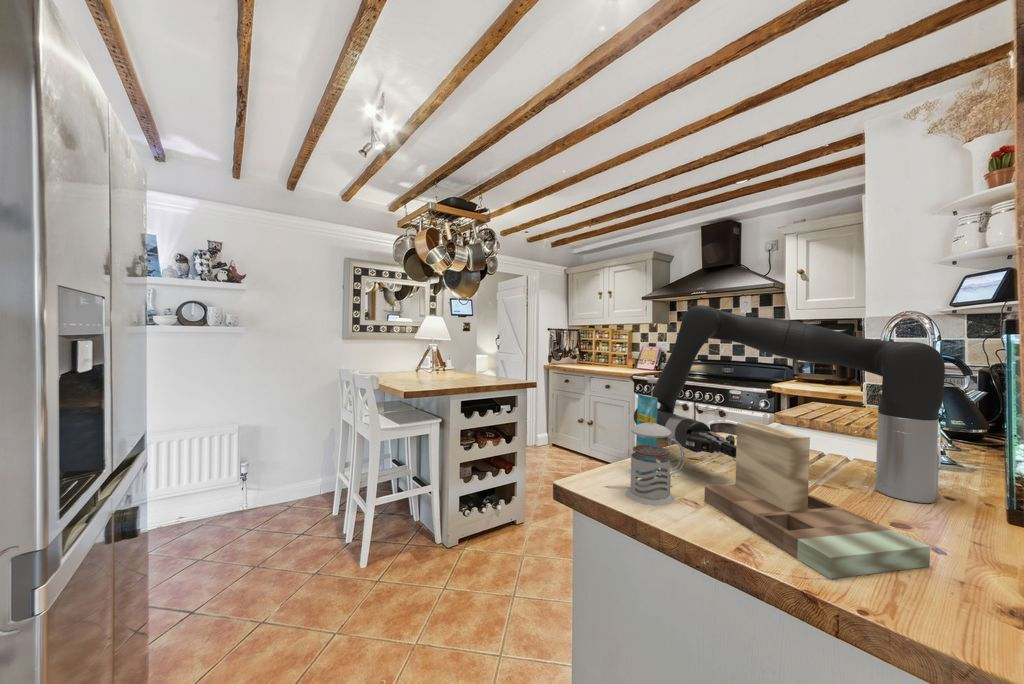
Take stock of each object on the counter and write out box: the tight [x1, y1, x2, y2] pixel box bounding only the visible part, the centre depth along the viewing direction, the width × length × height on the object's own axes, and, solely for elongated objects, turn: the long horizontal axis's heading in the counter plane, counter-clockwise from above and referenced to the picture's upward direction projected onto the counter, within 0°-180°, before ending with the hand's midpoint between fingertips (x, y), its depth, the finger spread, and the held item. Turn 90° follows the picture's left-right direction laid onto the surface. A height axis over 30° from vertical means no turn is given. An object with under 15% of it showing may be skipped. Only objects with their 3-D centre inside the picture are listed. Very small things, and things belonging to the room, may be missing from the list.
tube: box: [635, 393, 658, 478], centre depth 95 cm, size 7×5×19 cm, turn 23°
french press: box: [625, 376, 686, 507], centre depth 82 cm, size 10×12×25 cm
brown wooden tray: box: [704, 483, 931, 580], centre depth 69 cm, size 18×26×3 cm
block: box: [735, 421, 811, 511], centre depth 76 cm, size 4×12×13 cm, turn 11°
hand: (738, 453), depth 83 cm, fingers closed
